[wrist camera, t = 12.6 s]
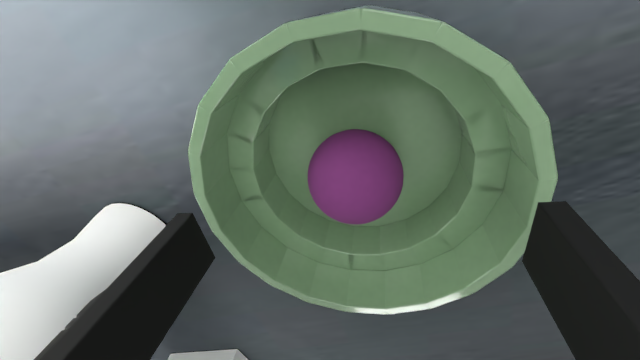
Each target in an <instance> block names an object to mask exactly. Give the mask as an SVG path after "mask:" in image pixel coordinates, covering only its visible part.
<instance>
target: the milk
mask: <svg viewBox="0 0 640 360" xmlns="http://www.w3.org/2000/svg"><path fill="white" fill-rule="evenodd" d="M168 360H248V359H247V358H246V357H245V356H244V355H243V354H242V353H241V352H240V351H239V350H238V349H230V350H216V351H201V352H187V353H173V354H170V356H169V358H168Z"/></svg>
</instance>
